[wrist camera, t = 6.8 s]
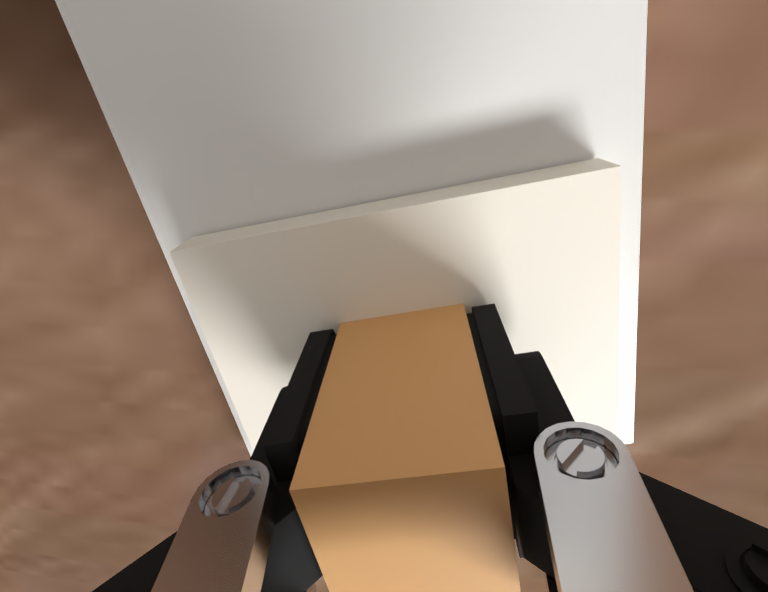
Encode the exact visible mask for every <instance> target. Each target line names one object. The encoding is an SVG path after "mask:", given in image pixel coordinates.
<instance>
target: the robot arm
mask: <svg viewBox="0 0 768 592" xmlns="http://www.w3.org/2000/svg"><path fill="white" fill-rule="evenodd" d="M466 315H467V319H468V323H469V327H470V331H471V335H472V339H473V343H474V347H475V351H476V354H477V358H478V362H479V366H480V370H481V374H482V378H483V382H484V386H485V390H486V394H487V398H488V402H489V406H490V410H491V414H492V418H493V422H494V426H495V430H496V434H497V437H498V441H499V445H500V449H501V453H502V457H503V461H504V465H505V471H506V479H507V487H508V495H509V503H510V511H511V519H512V528H513V536H514V539H516V543H517V547H518V551H519V556H520V558H522V557H524V558H525V559H527V560H528V561H529V562H531V563H532V564H534V565H535V566H537V567H538V568H539V569H541V570H542V571H544V574H545V582H546V588H547V592H768V529H767V528H765V527H763V526H760V525H758V524H756V523H753V522H751V521H749V520H747V519H744V518H742V517H740V516H738V515H735V514H733V513H731V512H729V511H726V510H724V509H722V508H720V507H717V506H715V505H713V504H710V503H708V502H706V501H704V500H701V499H699V498H697V497H695V496H692V495H690V494H688V493H686V492H683V491H681V490H679V489H676V488H674V487H672V486H670V485H667V484H665V483H663V482H661V481H658V480H656V479H654V478H652V477H649V476H647V475H645V474H642V473H640V472H638V470H637V467H636V465H635V463H634V461H633V459H632V457H631V454H630V452H629V450H628V449H627V447H626V446H625V444H624V443H623V441H622V440H621V439H620V438H618V437H617V436H616V435H615V434H613V433H612V432H611V431H609V430H606V429H604V428H602V427H600V426H598V425H594V424H590V423H586V422H575V420H574V418H573V416H572V414H571V412H570V410H569V408H568V406H567V404H566V402H565V400H564V398H563V396H562V394H561V392H560V390H559V388H558V386H557V384H556V382H555V380H554V378H553V376H552V374H551V372H550V370H549V368H548V366H547V364H546V362H545V360H544V358H543V356H542V355H541V353H540V352H539V351H534V352H527V353H520V354H514V351H513V349H512V346H511V344H510V341H509V339H508V336H507V334H506V331H505V328H504V326H503V323H502V321H501V318H500V316H499V313H498V311H497V308H496V306H495V304H487V305H481V306H475V307H472V313H468V314H466ZM336 336H337V334H335V332H334V330H333V329H328V330H321V331H315V332H310V334H309V336H308V338H307V341H306V343H305V345H304V348H303V350H302V353H301V355H300V357H299V360H298V362H297V364H296V367H295V369H294V372H293V374H292V376H291V379H290V381H289V383H288V386H285V387H283V388H282V389H281V390H280V392H279V394H278V397H277V399H276V401H275V403H274V406H273V408H272V410H271V413H270V415H269V417H268V419H267V422H266V424H265V426H264V428H263V431H262V433H261V435H260V438H259V440H258V442H257V444H256V447H255V449H254V451H253V453H252V456H251V458H250V460H241V461H237V462H234V463H231V464H228V465H226V466H224V467H222V468H220V469H218V470H217V471H215V472H214V473H213V474H211V475H210V476H209V477H207V478H206V479H205V481H204V482H203V483H202V484H201V485H200V486H199V487H198V489H197V490H196V492H195V494H194V495H193V497H192V499H191V501H190V504H189V506H188V508H187V510H186V513H185V515H184V517H183V520H182V522H181V524H180V526H179V529H178V531H177V532H175V533H174V534H172V535H171V536H170V537H168V538H167V539H165V540H164V541H163V542H161V543H160V544H158V545H157V546H155V547H154V548H153V549H151V550H150V551H148V552H147V553H146V554H144V555H143V556H141V557H140V558H139V559H137V560H136V561H134V562H133V563H132V564H130V565H129V566H127V567H126V568H124V569H123V570H122V571H120V572H119V573H117V574H116V575H115V576H113V577H112V578H110V579H109V580H108V581H106V582H105V583H103V584H102V585H101V586H99V587H98V588H96V589H95V590H94V591H92V592H316V585H315V582H316V581H317V580H318V579H319V578H320V577H321V576H322V575H323V574H322V572H321V569H320V567H319V564H318V562H317V559H316V557H315V554H314V552H313V549H312V547H311V544H310V542H309V539H308V537H307V534H306V532H305V529H304V527H303V524H302V522H301V519H300V517H299V514H298V512H297V509H296V507H295V504H294V502H293V499H292V497H291V494H290V492H289V489H290V486H291V482H292V479H293V476H294V472H295V469H296V466H297V463H298V459H299V456H300V453H301V450H302V446H303V443H304V440H305V437H306V433H307V430H308V427H309V424H310V420H311V417H312V414H313V411H314V407H315V404H316V401H317V398H318V394H319V391H320V388H321V385H322V381H323V378H324V375H325V372H326V368H327V365H328V362H329V359H330V355H331V352H332V349H333V346H334V342H335V339H336Z"/></svg>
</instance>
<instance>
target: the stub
mask: <svg viewBox="0 0 768 592" xmlns="http://www.w3.org/2000/svg"><path fill="white" fill-rule="evenodd" d="M620 228H621V166H620V165H617V164H614V163H611V162H608V161H605V160H603V159H600V158H596V159H591V160H586V161H581V162H575V163H570V164H565V165H560V166H555V167H550V168H545V169H539V170H534V171H529V172H524V173H519V174H514V175H509V176H503V177H498V178H493V179H488V180H483V181H478V182H473V183H467V184H462V185H457V186H452V187H447V188H442V189H437V190H431V191H426V192H421V193H416V194H411V195H406V196H401V197H395V198H390V199H385V200H380V201H375V202H370V203H364V204H359V205H354V206H349V207H344V208H339V209H334V210H328V211H323V212H318V213H313V214H308V215H303V216H298V217H292V218H287V219H282V220H277V221H272V222H267V223H262V224H256V225H251V226H246V227H241V228H236V229H231V230H226V231H220V232H215V233H210V234H205V235H200V236H195V237H192V238H190V239H188V240H187V241H185V242H184V243H182V244H181V245H179V246H178V247H176V248H175V249H173V250H172V251H170V252H169V253H170V256H171V258H172V260H173V263H174V265H175V267H176V270H177V272H178V274H179V277H180V279H181V282H182V284H183V286H184V289H185V291H186V293H187V296H188V298H189V300H190V303H191V305H192V307H193V310H194V312H195V315H196V317H197V319H198V322H199V324H200V326H201V329H202V331H203V333H204V336H205V338H206V340H207V343H208V345H209V348H210V350H211V352H212V355H213V357H214V359H215V362H216V364H217V366H218V369H219V371H220V373H221V376H222V378H223V381H224V383H225V385H226V388H227V390H228V392H229V395H230V397H231V399H232V402H233V404H234V406H235V409H236V411H237V414H238V416H239V418H240V421H241V423H242V425H243V428H244V430H245V432H246V435H247V437H248V439H249V442H250V444H251V447H252V449H253V451H254V449H255V447H256V444H257V442H258V440H259V438H260V435H261V433H262V431H263V428H264V426H265V424H266V422H267V419H268V417H269V415H270V413H271V410H272V408H273V406H274V403H275V401H276V399H277V397H278V394H279V392H280V390H281V389H282V388H283V387H285V386H288V383H289V381H290V379H291V376H292V374H293V372H294V369H295V367H296V364H297V362H298V360H299V357H300V355H301V353H302V350H303V348H304V345H305V343H306V341H307V338H308V336H309V334H310V332H315V331H321V330H328V329H333V330H334V332H335V334H337V336H336V339H335V342H334V346H333V349H332V352H331V355H330V359H329V362H328V365H327V368H326V372H325V375H324V378H323V381H322V385H321V388H320V391H319V394H318V398H317V401H316V404H315V407H314V411H313V414H312V417H311V420H310V424H309V427H308V430H307V433H306V437H305V440H304V443H303V446H302V450H301V453H300V456H299V459H298V463H297V466H296V469H295V472H294V476H293V479H292V482H291V486H290V489H289V492H290V494H291V497H292V499H293V502H294V504H295V507H296V509H297V512H298V514H299V517H300V519H301V522H302V524H303V527H304V529H305V532H306V534H307V537H308V539H309V542H310V544H311V547H312V549H313V552H314V554H315V557H316V559H317V562H318V564H319V567H320V569H321V572H322V574H323V577H324V579H325V582H326V584H327V587H328V589H329V592H520V584H519V576H518V568H517V560H516V552H515V544H514V536H513V528H512V519H511V511H510V503H509V495H508V487H507V479H506V471H505V465H504V461H503V457H502V453H501V449H500V445H499V441H498V437H497V434H496V430H495V426H494V422H493V418H492V414H491V410H490V406H489V402H488V398H487V394H486V390H485V386H484V382H483V378H482V374H481V370H480V366H479V362H478V358H477V354H476V351H475V347H474V343H473V339H472V335H471V331H470V327H469V323H468V319H467V315H466V314H468V313H472V307H475V306H481V305H487V304H495V306H496V308H497V311H498V313H499V316H500V318H501V321H502V323H503V326H504V328H505V331H506V334H507V336H508V339H509V341H510V344H511V346H512V349H513V351H514V354H520V353H527V352H534V351H539V352H540V353H541V355H542V356H543V358H544V360H545V362H546V364H547V366H548V368H549V370H550V372H551V374H552V376H553V378H554V380H555V382H556V384H557V386H558V388H559V390H560V392H561V394H562V396H563V398H564V400H565V402H566V404H567V406H568V408H569V410H570V412H571V414H572V416H573V418H574V420H575V422H586V423H590V424H594V425H598V426H600V427H602V428H604V429H606V430H609V431H611V432H612V433H613V434H615V435H616V436H617V437H618V375H619V301H620Z"/></svg>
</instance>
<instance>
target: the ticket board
mask: <svg viewBox="0 0 768 592" xmlns="http://www.w3.org/2000/svg"><path fill="white" fill-rule="evenodd" d="M55 2H56V4H57V7H58V9H59V11H60V14H61V16H62V18H63V21H64V23H65V25H66V28H67V30H68V32H69V35H70V37H71V39H72V41H73V44H74V46H75V48H76V51H77V53H78V55H79V58H80V60H81V62H82V65H83V67H84V69H85V72H86V74H87V76H88V79H89V81H90V83H91V86H92V88H93V90H94V93H95V95H96V97H97V100H98V102H99V104H100V107H101V109H102V111H103V114H104V116H105V118H106V121H107V123H108V125H109V128H110V130H111V132H112V135H113V137H114V139H115V142H116V144H117V146H118V148H119V151H120V153H121V155H122V158H123V160H124V162H125V165H126V167H127V169H128V172H129V174H130V176H131V179H132V181H133V183H134V186H135V188H136V190H137V193H138V195H139V197H140V200H141V202H142V204H143V207H144V209H145V211H146V214H147V216H148V218H149V221H150V223H151V225H152V228H153V230H154V232H155V235H156V237H157V239H158V242H159V244H160V246H161V248H162V251H163V253H164V255H165V258H166V260H167V262H168V265H169V267H170V269H171V272H172V274H173V276H174V279H175V281H176V283H177V286H178V288H179V290H180V293H181V295H182V297H183V300H184V302H185V304H186V307H187V309H188V311H189V314H190V316H191V318H192V321H193V323H194V325H195V328H196V330H197V332H198V335H199V337H200V339H201V342H202V344H203V346H204V349H205V351H206V353H207V355H208V358H209V360H210V362H211V365H212V367H213V369H214V372H215V374H216V376H217V379H218V381H219V383H220V386H221V388H222V390H223V393H224V395H225V397H226V400H227V402H228V404H229V407H230V409H231V411H232V414H233V416H234V418H235V421H236V423H237V425H238V428H239V430H240V432H241V435H242V437H243V439H244V442H245V444H246V446H247V449H248V451H249V453H250V455H251V456H252V453H253V449H252V447H251V444H250V442H249V439H248V437H247V435H246V432H245V430H244V428H243V425H242V423H241V421H240V418H239V416H238V414H237V411H236V409H235V406H234V404H233V402H232V399H231V397H230V395H229V392H228V390H227V388H226V385H225V383H224V381H223V378H222V376H221V373H220V371H219V369H218V366H217V364H216V362H215V359H214V357H213V355H212V352H211V350H210V348H209V345H208V343H207V340H206V338H205V336H204V333H203V331H202V329H201V326H200V324H199V322H198V319H197V317H196V315H195V312H194V310H193V307H192V305H191V303H190V300H189V298H188V296H187V293H186V291H185V289H184V286H183V284H182V282H181V279H180V277H179V274H178V272H177V270H176V267H175V265H174V263H173V260H172V258H171V256H170V253H169V252H170V251H172V250H173V249H175V248H176V247H178V246H179V245H181V244H182V243H184V242H185V241H187V240H188V239H190V238H192V237H195V236H200V235H205V234H210V233H215V232H220V231H226V230H231V229H236V228H241V227H246V226H251V225H256V224H262V223H267V222H272V221H277V220H282V219H287V218H292V217H298V216H303V215H308V214H313V213H318V212H323V211H328V210H334V209H339V208H344V207H349V206H354V205H359V204H364V203H370V202H375V201H380V200H385V199H390V198H395V197H401V196H406V195H411V194H416V193H421V192H426V191H431V190H437V189H442V188H447V187H452V186H457V185H462V184H467V183H473V182H478V181H483V180H488V179H493V178H498V177H503V176H509V175H514V174H519V173H524V172H529V171H534V170H539V169H545V168H550V167H555V166H560V165H565V164H570V163H575V162H581V161H586V160H591V159H596V158H600V159H603V160H605V161H608V162H611V163H614V164H617V165H620V166H621V228H620V301H619V375H618V438H620V439H621V440H622V441H623V443H624V444H628V443H633V436H634V405H635V374H636V344H637V313H638V282H639V251H640V220H641V189H642V158H643V127H644V96H645V65H646V34H647V3H648V0H55Z"/></svg>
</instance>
